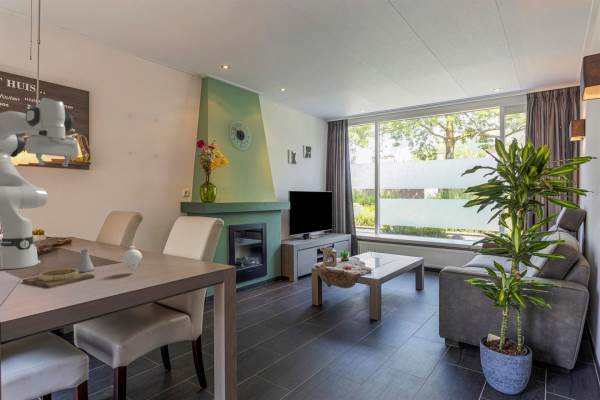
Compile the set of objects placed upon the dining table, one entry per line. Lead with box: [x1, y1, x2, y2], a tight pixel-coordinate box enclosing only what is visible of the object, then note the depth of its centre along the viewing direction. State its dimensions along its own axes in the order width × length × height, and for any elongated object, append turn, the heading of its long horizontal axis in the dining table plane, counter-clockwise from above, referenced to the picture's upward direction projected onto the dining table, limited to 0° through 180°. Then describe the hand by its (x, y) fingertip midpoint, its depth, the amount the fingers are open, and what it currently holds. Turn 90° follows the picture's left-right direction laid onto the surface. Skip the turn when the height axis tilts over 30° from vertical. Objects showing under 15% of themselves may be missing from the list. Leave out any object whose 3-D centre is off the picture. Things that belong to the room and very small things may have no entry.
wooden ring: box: [38, 268, 80, 281], centre depth 140 cm, size 13×13×2 cm
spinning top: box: [122, 245, 143, 274], centre depth 151 cm, size 8×8×12 cm
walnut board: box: [22, 272, 95, 289], centre depth 140 cm, size 19×17×1 cm
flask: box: [75, 248, 96, 273], centre depth 156 cm, size 7×7×10 cm
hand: (53, 165), depth 151 cm, fingers open, 8 cm apart
